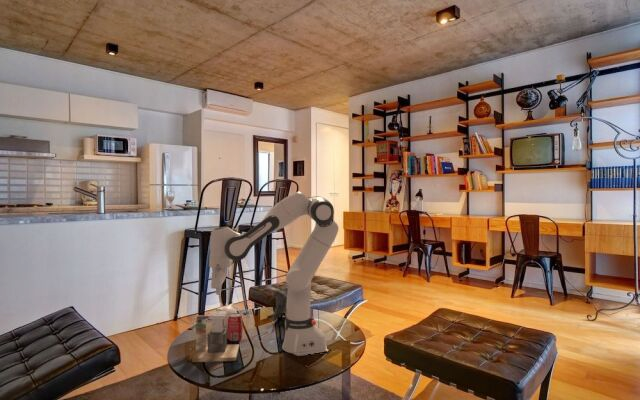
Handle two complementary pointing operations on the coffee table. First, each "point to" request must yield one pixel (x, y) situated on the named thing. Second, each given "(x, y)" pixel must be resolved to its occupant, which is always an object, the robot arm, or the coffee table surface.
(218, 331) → the boxy square bracket
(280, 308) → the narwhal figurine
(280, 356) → the coffee table surface
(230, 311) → the cat head
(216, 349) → the stand
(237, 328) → the soda can
